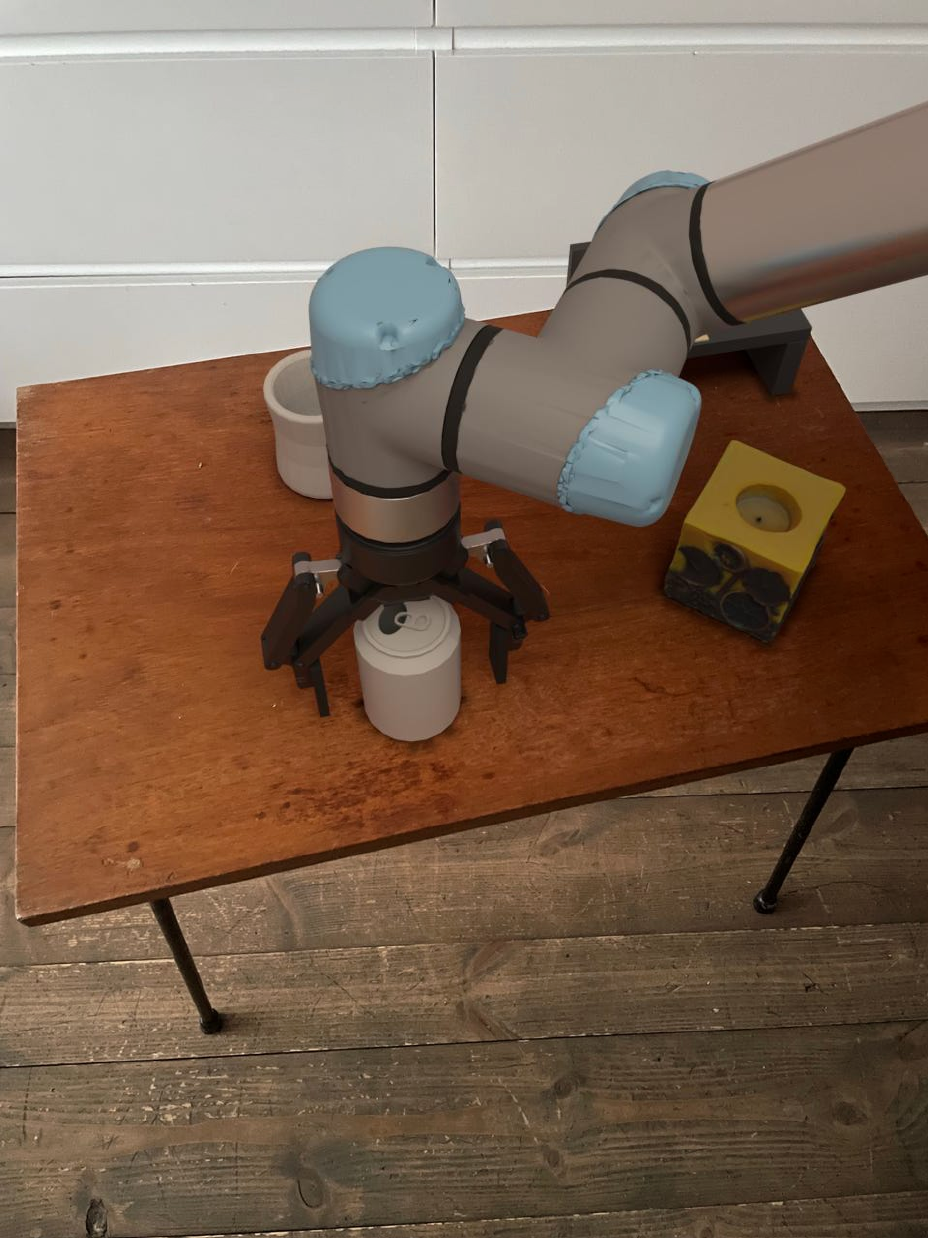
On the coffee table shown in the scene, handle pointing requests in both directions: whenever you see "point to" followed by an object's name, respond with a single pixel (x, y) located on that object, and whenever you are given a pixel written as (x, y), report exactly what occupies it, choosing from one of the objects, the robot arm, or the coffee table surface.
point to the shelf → (748, 339)
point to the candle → (751, 540)
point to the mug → (298, 426)
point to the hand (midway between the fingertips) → (411, 685)
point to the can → (410, 667)
